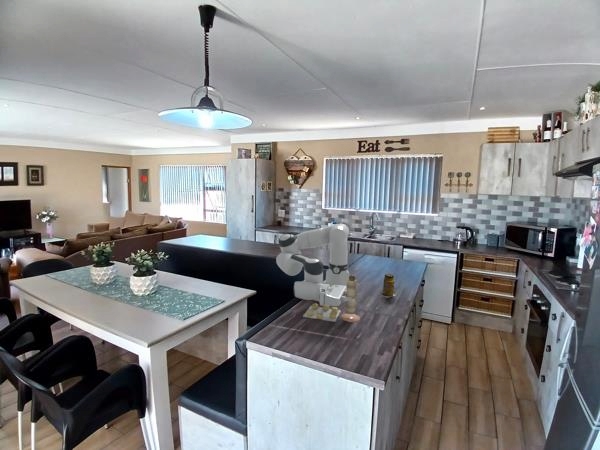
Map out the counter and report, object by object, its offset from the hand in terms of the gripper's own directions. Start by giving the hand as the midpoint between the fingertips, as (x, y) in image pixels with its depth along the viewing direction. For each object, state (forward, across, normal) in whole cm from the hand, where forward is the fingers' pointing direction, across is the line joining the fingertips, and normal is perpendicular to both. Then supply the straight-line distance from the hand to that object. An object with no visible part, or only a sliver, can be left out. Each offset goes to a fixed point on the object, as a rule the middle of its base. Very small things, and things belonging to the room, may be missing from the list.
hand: (353, 296), depth 150 cm
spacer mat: (-15, 0, -11) cm, 19 cm away
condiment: (+14, -41, -11) cm, 45 cm away
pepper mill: (-1, 0, -8) cm, 8 cm away
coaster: (-1, 0, -11) cm, 11 cm away
